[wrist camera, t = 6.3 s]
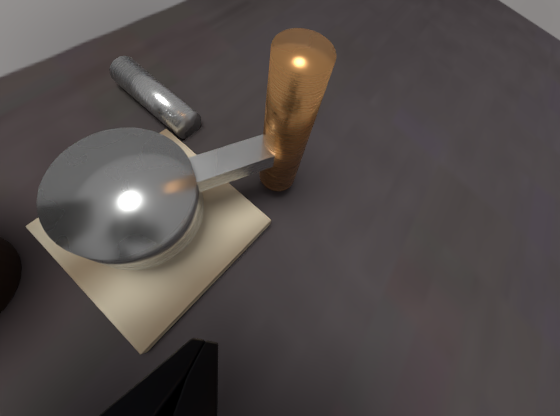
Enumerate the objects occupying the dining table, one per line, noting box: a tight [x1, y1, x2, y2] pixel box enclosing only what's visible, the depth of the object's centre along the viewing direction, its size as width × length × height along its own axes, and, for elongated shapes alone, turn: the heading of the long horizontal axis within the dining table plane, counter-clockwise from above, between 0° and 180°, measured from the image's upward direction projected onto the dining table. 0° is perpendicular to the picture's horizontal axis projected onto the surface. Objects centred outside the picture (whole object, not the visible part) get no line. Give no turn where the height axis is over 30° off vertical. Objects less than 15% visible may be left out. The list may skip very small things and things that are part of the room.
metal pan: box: [37, 28, 336, 270], centre depth 14 cm, size 14×7×10 cm, turn 115°
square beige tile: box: [25, 129, 271, 354], centre depth 17 cm, size 11×11×3 cm
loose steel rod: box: [110, 56, 201, 139], centre depth 22 cm, size 8×2×2 cm
